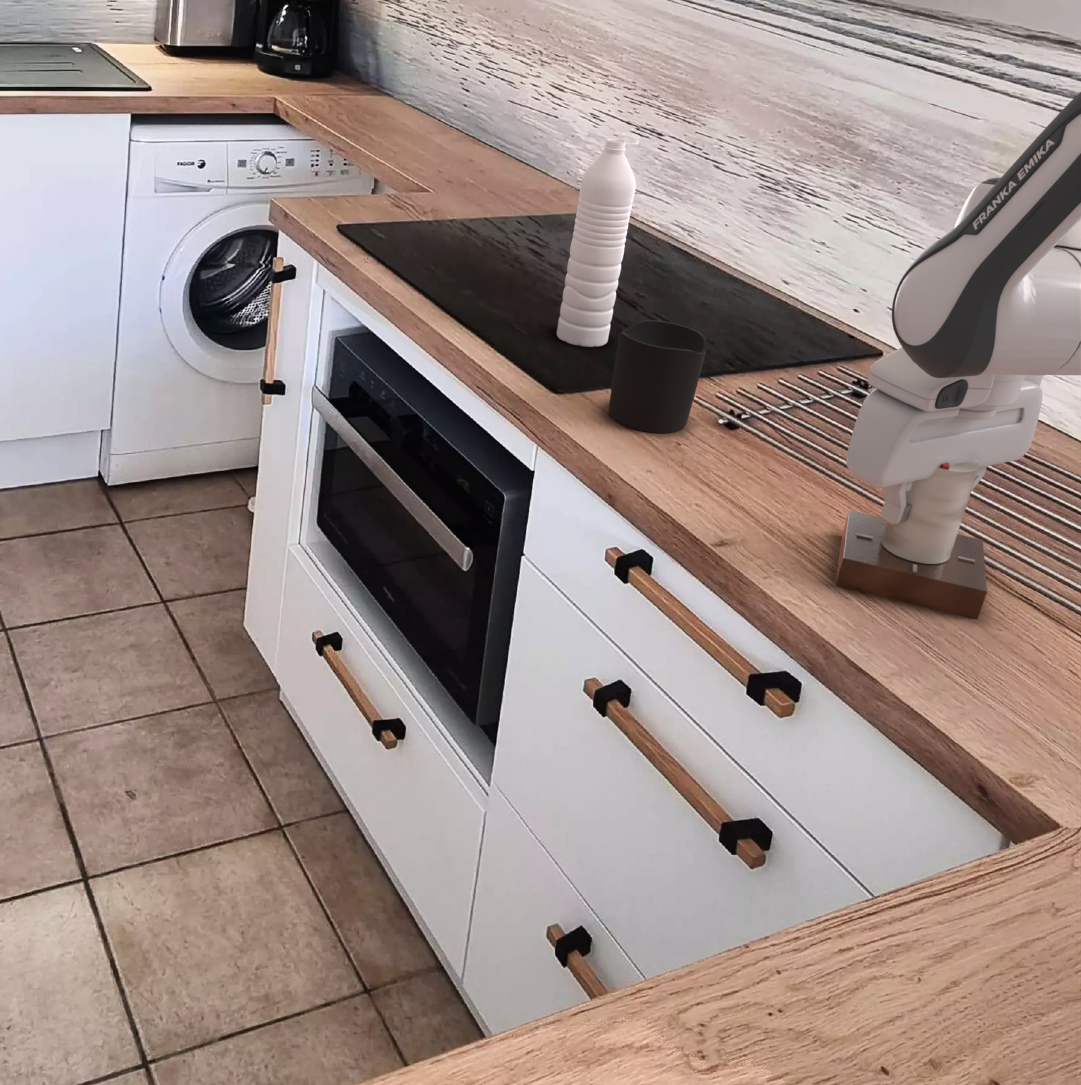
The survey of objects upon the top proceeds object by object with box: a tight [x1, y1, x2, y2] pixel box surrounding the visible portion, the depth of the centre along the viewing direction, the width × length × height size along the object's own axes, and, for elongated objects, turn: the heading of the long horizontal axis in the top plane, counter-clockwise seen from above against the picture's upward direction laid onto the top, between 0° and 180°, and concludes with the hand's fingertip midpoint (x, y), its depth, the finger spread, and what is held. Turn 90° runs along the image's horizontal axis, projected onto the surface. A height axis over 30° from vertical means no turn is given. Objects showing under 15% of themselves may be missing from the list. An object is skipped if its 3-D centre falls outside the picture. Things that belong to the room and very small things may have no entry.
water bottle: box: [556, 132, 641, 348], centre depth 175 cm, size 9×6×25 cm
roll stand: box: [834, 509, 988, 620], centre depth 128 cm, size 12×11×3 cm
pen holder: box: [608, 319, 708, 434], centre depth 155 cm, size 9×9×10 cm
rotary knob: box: [881, 460, 979, 564], centre depth 125 cm, size 6×6×9 cm
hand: (921, 514), depth 126 cm, fingers closed on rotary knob, 6 cm apart
